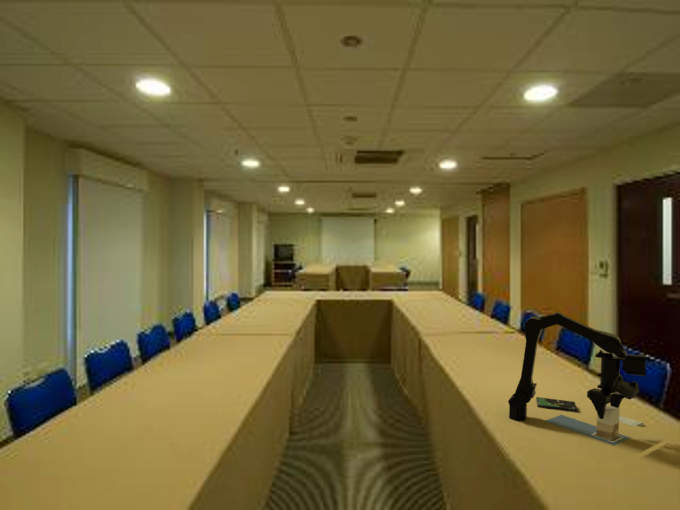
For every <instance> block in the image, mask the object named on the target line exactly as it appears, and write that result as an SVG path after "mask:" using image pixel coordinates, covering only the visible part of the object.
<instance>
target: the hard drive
mask: <svg viewBox="0 0 680 510" xmlns="http://www.w3.org/2000/svg"><path fill="white" fill-rule="evenodd" d="M619 423H622V424H624V425H628V426H630V427H636V426H637V427H643V426H644V422H642V421H638V420H636V419H632V418H628V417H625V416H622V415H619Z"/></svg>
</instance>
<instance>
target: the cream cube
mask: <svg viewBox="0 0 680 510" xmlns="http://www.w3.org/2000/svg"><path fill="white" fill-rule="evenodd" d="M620 410H621V409H620V407H619V408H616V407H613V406H611V405H610V404H607V405H606V409H605V414H604V418H603V419H600V418H599V416H598V414H597V413H596V422H597V421H598V422H601V423H605V424H608V425H611V426H613V425H615V424H618V423H619V424H620V422H619V416H620Z"/></svg>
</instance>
